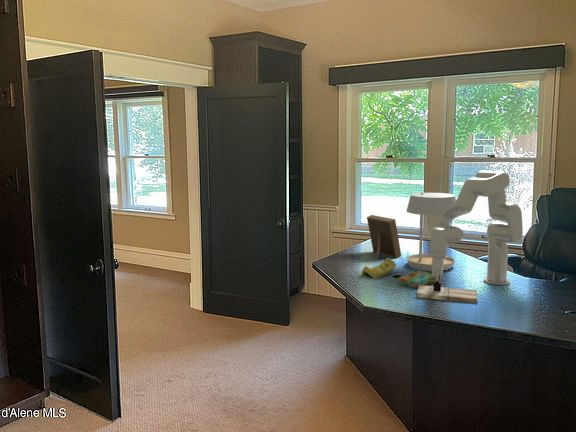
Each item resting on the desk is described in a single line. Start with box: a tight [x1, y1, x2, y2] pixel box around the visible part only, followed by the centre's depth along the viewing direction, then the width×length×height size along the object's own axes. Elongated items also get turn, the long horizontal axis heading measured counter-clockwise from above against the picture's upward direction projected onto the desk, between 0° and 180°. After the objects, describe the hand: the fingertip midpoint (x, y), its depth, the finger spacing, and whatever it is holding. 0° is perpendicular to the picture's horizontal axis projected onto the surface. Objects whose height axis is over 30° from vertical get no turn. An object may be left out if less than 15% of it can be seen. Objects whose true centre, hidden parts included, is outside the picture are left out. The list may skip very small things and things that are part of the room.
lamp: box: [406, 192, 457, 272], centre depth 304 cm, size 29×29×43 cm
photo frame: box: [366, 214, 402, 259], centre depth 332 cm, size 15×22×25 cm
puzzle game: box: [397, 270, 435, 289], centre depth 273 cm, size 12×5×20 cm
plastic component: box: [360, 257, 397, 279], centre depth 291 cm, size 20×7×10 cm
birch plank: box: [416, 285, 450, 301], centre depth 252 cm, size 14×14×2 cm
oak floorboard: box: [447, 287, 478, 304], centre depth 248 cm, size 14×13×2 cm
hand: (437, 290), depth 251 cm, fingers closed
